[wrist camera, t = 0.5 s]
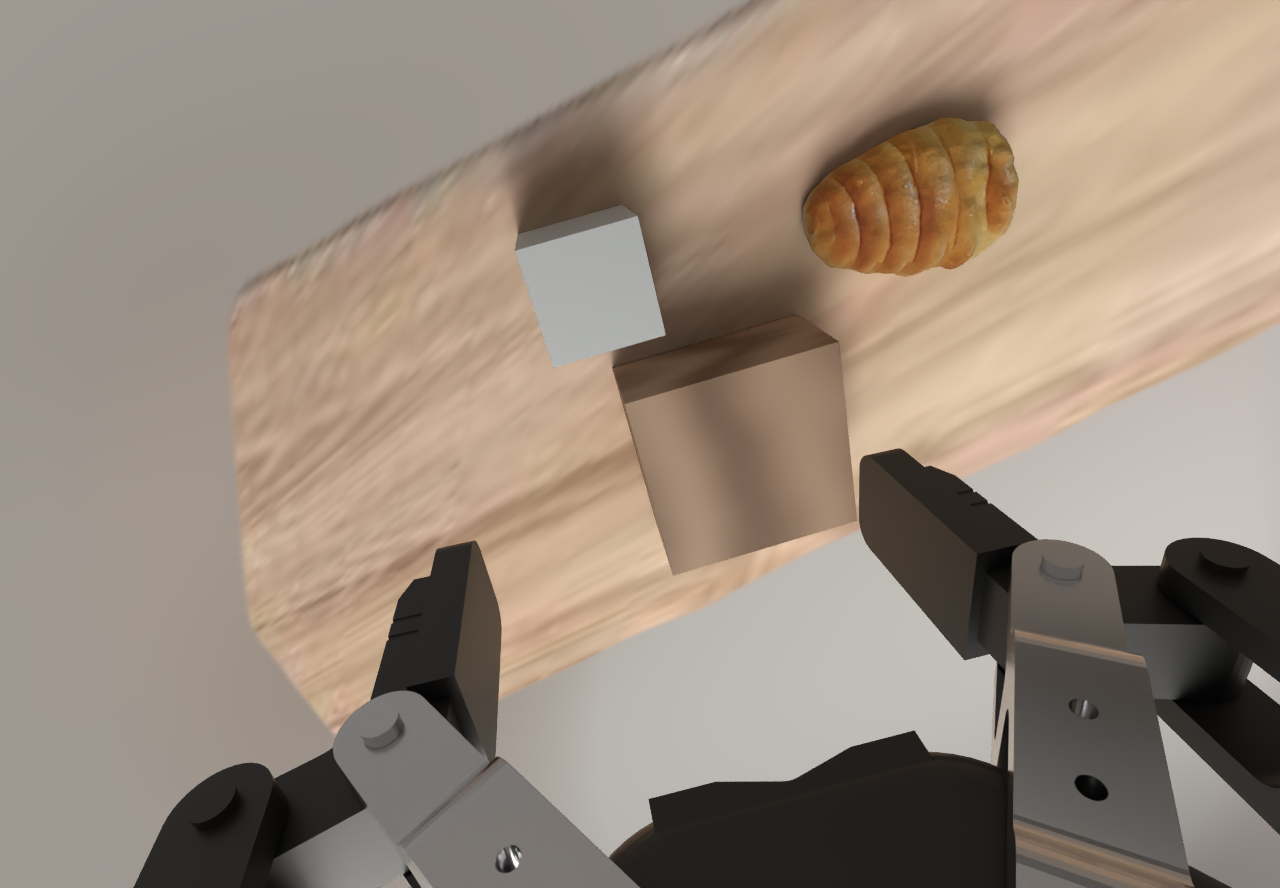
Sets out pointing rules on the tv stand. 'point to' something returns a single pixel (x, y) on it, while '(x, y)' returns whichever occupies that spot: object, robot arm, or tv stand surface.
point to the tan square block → (741, 440)
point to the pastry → (915, 200)
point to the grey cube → (590, 284)
